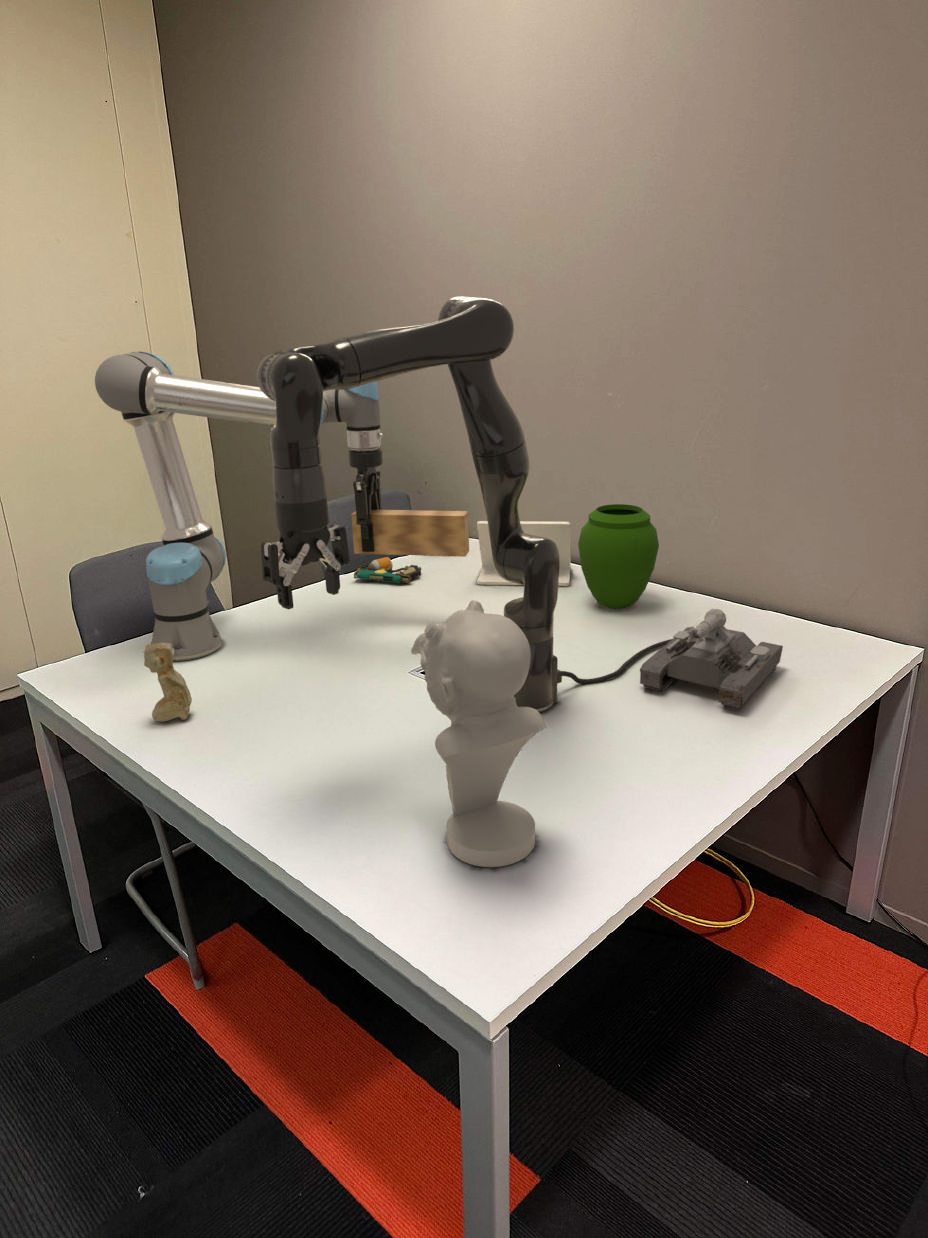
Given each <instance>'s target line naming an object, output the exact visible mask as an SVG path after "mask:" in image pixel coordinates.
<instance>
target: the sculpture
mask: <svg viewBox="0 0 928 1238" xmlns="http://www.w3.org/2000/svg"><path fill="white" fill-rule="evenodd" d="M142 653H143V658H144V663H143V665H144V667H146V668H148V669H149V671H150V673H152V674H154V673H155V674H157V681H158V683H159V685H160V688H161V691H162V694H163V696H162V697H161V698H160V699H159V700H158V701H157V702H156V703H155V705H154V706H153V709H152V711H151V717H152V719H153V720H154V721H156V722H162V723H163V722H168V721H170V720H173V719H176V718H180V720H182V721H183V720H186V719H188V717H189V715H190V714H189V713H190V711H191V708H190V707H191V705H192V700H193V698H192V696H191V695H192V694H191V692H190V690H189V687H188V685H187V682H186V679H185V678H184V676H183V675H182V674H181V673H180V672H178V671H177V670H175V667H174V661H173V653H172V644H170V643H155V644H151V643H148V644H146V645H145V646H144V648H143V651H142Z"/></svg>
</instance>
